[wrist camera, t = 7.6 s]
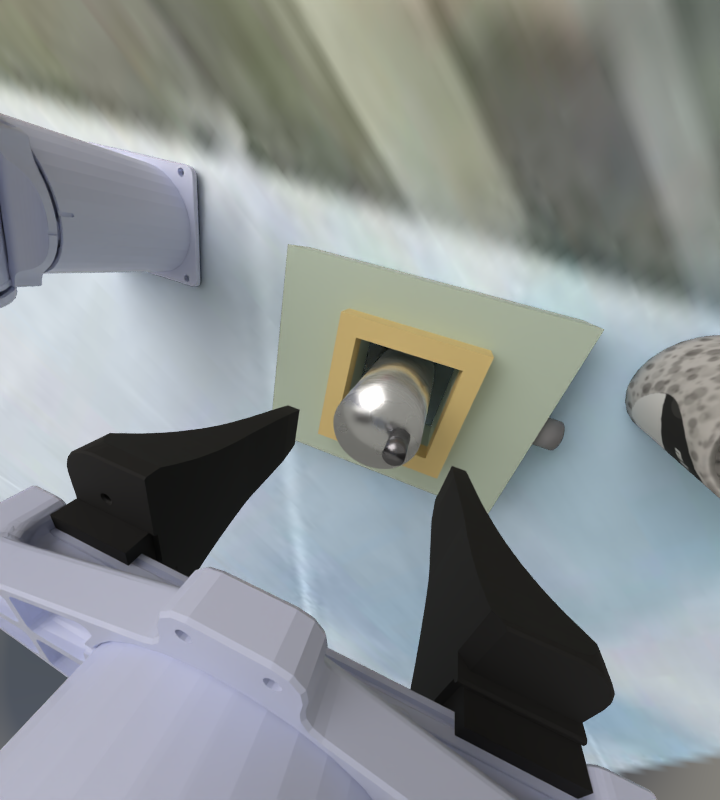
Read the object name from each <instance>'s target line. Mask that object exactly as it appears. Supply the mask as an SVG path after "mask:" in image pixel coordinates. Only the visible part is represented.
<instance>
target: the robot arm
mask: <svg viewBox="0 0 720 800" xmlns="http://www.w3.org/2000/svg"><path fill="white" fill-rule="evenodd" d="M182 171H184V175H183V174H182ZM104 272H148V273H152V274H155V275H158V276H161V277H164V278H168V279H171V280H174V281H177V282H180V283H184V284H187V285H190V286H199V285H200V255H199V227H198V198H197V175H196V172H195V170H194V168H193V167H191V166H188V165H185V164H181V163H176V162H172V161H168V160H164V159H159V158H155V157H151V156H147V155H142V154H138V153H134V152H130V151H125V150H121V149H117V148H113V147H108V146H104V145H100V144H95V143H91V142H88V143H87V142H84V141H82V140H79V139H76V138H73V137H70V136H67V135H64V134H61V133H58V132H55V131H52V130H49V129H46V128H43V127H40V126H37V125H34V124H31V123H28V122H25V121H22V120H19V119H16V118H13V117H10V116H7V115H4V114H1V113H0V308H2V307H4V306H6V305H8V304H10V303H11V302H12V301H13V300H14V299H15V298H16V295H17V287H27V286H41V285H42V275H43V274H45V273H104ZM188 277H189V279H188ZM299 411H300V410H299V409H297V408H294V407H291V406H289V405H287V406H284V407H280V408H277V409H274V410H271V411H268V412H265V413H262V414H259V415H256V416H253V417H249V418H246V419H242V420H239V421H235V422H231V423H228V424H223V425H219V426H214V427H208V428H203V429H195V430H187V431H179V432H167V433H146V434H127V433H109V434H107V435H105V436H103V437H101V438H99V439H97V440H95V441H93V442H91V443H89V444H87V445H85V446H82V447H80V448H78V449H76V450H74V451H72V452H71V453H70V455H69V456H68V459H67V468H68V473H69V476H70V479H71V482H72V485H73V488H74V490H75V493H76V496H77V499H75V500H74V501H72V502H70V503H69V504H67V505H66V503H65V502H64V501H63V500H62V499H61V498H59V497H58V496H56V495H53V494H51V493H49V492H47V491H45V490H43V489H41V488H39V487H37V486H31V487H29V488H27V489H25V490H23V491H21V492H19V493H17V494H15V495H13V496H11V497H9V498H8V499H6V500H4V501H2V502H0V629H2V630H3V631H4V632H6V633H7V634H8V635H10V636H11V637H13V638H14V639H15V640H17V641H18V642H20V643H21V644H23V645H24V646H25V647H27V648H28V649H29V650H31V651H32V652H34V653H35V654H36V655H37V656H39V657H40V658H42V659H43V660H44V661H46V662H47V663H49V664H50V665H51V666H53V667H54V668H55V669H57V670H58V671H59V672H61V673H62V674H64V675H65V676H66V677H68V679H67V680H66V681H65V682H64V683H63V685H62V686H60V688H59V689H58V690H57V691H56V692H55V693H54V694H53V695H52V696H51V697H50V698H49V699H48V700H47V701H46V702H45V703H44V704H43V706H42V707H41V708H40V709H39V710H38V711H37V712H36V713H35V714H34V715H33V716H32V717H31V719H30V720H28V722H27V723H26V724H25V725H24V726H23V727H22V728H21V729H20V730H19V731H18V732H17V733H16V734H15V735H14V736H13V737H12V738H11V740H10V741H9V742H8V743H7V744H6V745H5V746H4V747H3V748H2V749H1V750H0V800H657V799H656V797H655V795H654V794H653V793H652V792H651V791H650V790H648V789H647V788H644V787H642V786H640V785H638V784H636V783H634V782H632V781H630V780H628V779H626V778H624V777H622V776H620V775H618V774H616V773H614V772H612V771H610V770H608V769H606V768H604V767H601V766H598V765H592V764H586V762H585V758H584V754H583V751H582V747H581V745H582V746H585V745H587V737H586V734H585V730H584V726H583V722H584V721H586V720H588V719H589V718H591V717H593V716H595V715H596V714H598V713H600V712H601V711H603V710H604V709H606V708H607V707H608V706H609V705H610V704H611V703H612V701H613V698H614V695H615V693H614V689H613V685H612V682H611V679H610V676H609V674H608V671H607V668H606V666H605V663H604V660H603V658H602V655H601V653H600V650H599V648H598V646H597V644H596V643H595V642H594V641H593V640H592V639H591V638H590V637H589V636H588V635H587V634H586V633H585V632H584V631H583V630H582V629H581V628H580V627H579V626H578V625H577V624H576V623H575V622H574V621H573V620H571V619H570V618H569V617H568V616H567V615H566V614H565V613H564V612H563V611H562V610H561V609H560V607H559V606H558V605H557V604H556V603H555V602H554V601H553V600H552V599H551V598H550V597H549V596H548V595H547V594H546V593H545V591H544V590H543V589H542V588H541V587H540V586H539V585H538V583H537V582H536V581H535V580H534V579H533V578H532V576H531V575H530V574H529V573H528V572H527V570H526V569H525V568H524V567H523V565H522V564H521V563H520V562H519V560H518V559H517V558H516V556H515V555H514V554H513V552H512V551H511V549H510V548H509V547H508V545H507V544H506V542H505V541H504V540H503V538H502V537H501V535H500V534H499V532H498V530H497V529H496V527H495V525H494V524H493V522H492V520H491V519H490V517H489V515H488V514H487V512H486V510H485V508H484V506H483V504H482V502H481V501H480V499H479V497H478V495H477V492H476V490H475V488H474V486H473V484H472V482H471V480H470V478H469V476H468V474H467V472H466V471H465V470H462V469H459V468H457V467H454V466H452V467H451V469H450V471H449V473H448V475H447V477H446V479H445V481H444V483H443V485H442V487H441V489H440V491H439V493H438V495H437V497H436V499H435V504H434V510H433V516H432V524H431V546H430V570H429V582H428V589H427V596H426V603H425V610H424V616H423V622H422V628H421V635H420V640H419V646H418V652H417V657H416V663H415V668H414V674H413V679H412V684H411V689H408V688H406V687H404V686H402V685H400V684H398V683H396V682H394V681H392V680H390V679H388V678H386V677H385V676H383V675H381V674H379V673H377V672H375V671H373V670H371V669H369V668H367V667H365V666H363V665H361V664H359V663H357V662H355V661H353V660H351V659H349V658H347V657H345V656H343V655H341V654H339V653H337V652H335V651H333V650H331V649H329V648H327V639H326V634H325V631H324V629H323V628H322V627H321V626H320V624H319V623H318V622H317V621H316V619H315V618H314V617H312V616H311V615H309V614H308V613H306V612H305V611H303V610H302V609H300V608H299V607H297V606H295V605H292V604H290V603H288V602H286V601H284V600H282V599H280V598H278V597H276V596H274V595H272V594H270V593H268V592H266V591H264V590H262V589H260V588H258V587H256V586H254V585H252V584H250V583H248V582H246V581H244V580H241V579H239V578H237V577H235V576H233V575H231V574H229V573H227V572H225V571H222V570H219V569H216V568H212V567H208V568H203V569H199V568H200V566H201V565H202V563H203V562H204V560H205V559H206V557H207V556H208V554H209V553H210V551H211V550H212V548H213V547H214V545H215V544H216V542H217V541H218V540H219V538H220V537H221V535H222V534H223V532H224V531H225V530H226V528H227V527H228V525H229V524H230V523H231V521H232V520H233V519H234V517H235V516H236V515H237V513H238V512H239V511H240V509H241V508H242V507H243V505H244V504H245V503H246V501H247V500H248V499H249V498H250V497H251V495H252V494H253V493H254V492H255V491H256V490H257V489H258V488H259V487H260V486H261V485H262V483H263V482H264V481H265V480H266V479H267V478H268V477H269V476H270V475H271V474H272V473H273V472H274V470H275V469H276V468H277V467H278V466H279V465H280V464H281V463H282V462H283V460H284V459H285V458H286V456H287V455H288V454H289V452H290V451H291V449H292V448H293V446H294V445H295V439H296V432H297V425H298V418H299Z"/></svg>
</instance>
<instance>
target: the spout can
mask: <svg viewBox="0 0 720 800" xmlns="http://www.w3.org/2000/svg"><path fill="white" fill-rule="evenodd" d="M434 378H435V368H434V364H433V362H432V361H429V360H426V359H423V358H420V357H417V356H414V355H410V354H407V353H404V352H401V351H398V350H394V349H391V348H389V349H388V350H387V351H385V352H384V353H383V354H382V356H381V357H380V358H379V359H378V360H377V361H376V362H375V364H374V365H373V366H372V367H371V368H370V369H369V370H368V372H367V373H366V374H365V375H364V376H363V377H362V378H361V380H360V381H359V382H358V383H357V384H356V385H355V386H354V388H353V389H352V390H351V391H350V392H349V393H348V394H347V395H346V397H345V398H344V399H343V400H342V401H341V402H340V404H339V405H338V407H337V409H336V411H335V414H334V420H333V426H334V432H335V436H336V438H337V441H338V442H339V444H340V446H341V447H342V449H343V450H344V451H345V452H346V453H347V454H348V455H349V456H350V457H351V458H353V459H354V460H356V461H357V462H359V463H361V464H363V465H365V466H368V467H372V468H377V469H391V468H396V467H399V466H401V465H403V464H405V463H407V462H408V461H410V460H411V459H412V458H413V457H414V456H415V454H416V453H417V451H418V449H419V447H420V444H421V440H422V435H423V430H424V426H425V421H426V416H427V411H428V407H429V402H430V397H431V392H432V388H433V383H434Z"/></svg>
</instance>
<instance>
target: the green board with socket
mask: <svg viewBox="0 0 720 800" xmlns="http://www.w3.org/2000/svg"><path fill="white" fill-rule="evenodd" d="M603 331H604V329H602V328H599V327H597V326H595V325H592V324H590V323H588V322H585V321H583V320H580V319H576V318H572V317H569V316H565V315H561V314H557V313H554V312H550V311H546V310H542V309H539V308H535V307H531V306H527V305H524V304H520V303H516V302H513V301H509V300H505V299H501V298H498V297H494V296H490V295H486V294H483V293H479V292H475V291H471V290H468V289H464V288H460V287H456V286H453V285H449V284H445V283H441V282H438V281H434V280H430V279H427V278H423V277H419V276H415V275H412V274H408V273H404V272H400V271H397V270H393V269H389V268H385V267H382V266H378V265H374V264H370V263H367V262H363V261H359V260H356V259H352V258H348V257H344V256H341V255H337V254H333V253H329V252H326V251H322V250H318V249H314V248H311V247H304V246H296V245H289V244H288V249H287V259H286V270H285V281H284V291H283V302H282V313H281V323H280V334H279V345H278V355H277V366H276V377H275V387H274V398H273V409H272V410H274V409H277V408H280V407H284V406H287V405H289V406H291V407H294V408H297V409H299V410H300V411H299V418H298V425H297V432H296V439H295V440H296V441H298V442H301V443H304V444H306V445H309V446H311V447H314V448H316V449H319V450H322V451H324V452H327V453H329V454H332V455H334V456H337V457H339V458H342V459H345V460H347V461H350V462H352V463H355V464H357V465H360V466H363V467H365V468H368V469H370V470H373V471H375V472H378V473H381V474H383V475H386V476H388V477H391V478H393V479H396V480H399V481H401V482H404V483H406V484H409V485H411V486H414V487H417V488H419V489H422V490H424V491H427V492H429V493H432V494H435V495H438V493H439V491H440V489H441V487H442V485H443V483H444V481H445V479H446V477H447V475H448V473H449V471H450V469H451V467H452V466H454V467H457V468H459V469H462V470H465V471H466V472H467V474H468V476H469V478H470V480H471V482H472V484H473V486H474V488H475V490H476V492H477V495H478V497H479V499H480V501H481V502H482V504H483V506H484V508H485V510H486V512H487V514H488V513H489V511H490V510H491V508H492V507H493V505H494V504H495V502H496V500H497V499H498V497H499V496H500V494H501V492H502V491H503V489H504V488H505V486H506V484H507V483H508V481H509V480H510V478H511V477H512V475H513V473H514V472H515V470H516V469H517V467H518V465H519V464H520V462H521V461H522V459H523V458H524V456H525V454H526V453H527V451H528V450H529V448H530V446H531V445H532V444H533V445H536V446H539V447H542V448H545V449H548V450H554V449H555V448H556V447H557V446H558V445H559V444H560V442H561V441H562V438H563V435H564V430H565V428H564V424H563V423H562V422H561V421H558V420H554V419H551V418H549V416H550V415H551V413H552V412H553V410H554V408H555V407H556V405H557V404H558V402H559V400H560V399H561V397H562V396H563V394H564V393H565V391H566V389H567V388H568V386H569V385H570V383H571V381H572V380H573V378H574V377H575V375H576V373H577V372H578V370H579V369H580V367H581V366H582V364H583V362H584V361H585V359H586V358H587V356H588V354H589V353H590V351H591V350H592V348H593V347H594V345H595V343H596V342H597V340H598V339H599V337H600V335H601V334H602V332H603ZM370 342H372V343H375V344H378V345H382V346H385V347H388V348H391V349H394V350H398V351H401V352H404V353H407V354H410V355H414V356H417V357H420V358H423V359H426V360H429V361H433V362H436V363H439V364H442V365H445V366H449V367H452V368H454V371H453V373H452V376H451V378H450V381H449V383H448V385H447V388H446V390H445V393H444V395H443V398H442V400H441V403H440V405H439V407H438V410H437V412H436V415H435V417H434V420H433V422H432V425H431V426H429V425H426V424H425V426H424V430H423V435H422V440H421V444H420V447H419V449H418V451H417V453H416V454H415V456H414V457H413V458H412V459H411V460H410V461H408V462H407V463H405V464H403V465H401V466H399V467H396V468H391V469H377V468H372V467H368V466H365V465H363V464H361V463H359V462H357V461H356V460H354V459H353V458H351V457H350V456H349V455H348V454H347V453H346V452H345V451H344V450H343V449H342V447H341V446H340V444H339V442H338V441H337V438H336V436H335V432H334V426H333V420H334V414H335V411H336V409H337V407H338V405H339V404H340V402H341V401H342V400H343V399H344V398H345V397H346V395H347V394H348V393H349V392H350V391H351V390H352V389H353V388H354V386H355V385H356V384H357V383H358V382H359V381H360V380H361V377H362V373H363V369H364V365H365V361H366V357H367V353H368V349H369V345H370Z"/></svg>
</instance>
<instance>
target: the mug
mask: <svg viewBox="0 0 720 800" xmlns="http://www.w3.org/2000/svg"><path fill="white" fill-rule="evenodd" d="M625 403H626V408H627V412H628V414H629V416H630V417H631V419H632V421H633V422H634V423H635V424H636V425H637V426H639V427H640V428H641V429H642V430H643V431H644V432H645V433H646V434H648V435H649V436H650V437H651V438H652V439H653V440H654V441H655V442H657V443H658V444H659V445H660V446H661V447H662V448H663V449H664V450H666V451H667V452H668V453H669V454H670V455H671V456H672V457H674V458H675V459H676V460H677V461H678V462H679V463H680V464H681V465H683V466H684V467H685V468H686V469H687V470H688V471H689V472H690V473H692V474H693V475H694V476H695V477H696V478H697V479H698V480H700V481H701V482H702V483H703V484H704V485H705V486H706V487H707V488H709V489H710V490H711V491H712V492H713V493H714V494H715V495H717V496H718V497H719V498H720V335H712V336H705V337H698V338H694V339H690V340H687V341H683V342H680V343H678V344H676V345H673V346H671V347H669V348H667V349H665V350H663V351H661V352H660V353H658V354H657V355H655V356H654V357H652V358H651V359H649V360H648V361H647V362H646V363H645V364H644V365H643V366H642V367H641V368H640V369H639V370H638V371H637V372H636V374H635V375H634V376H633V378H632V379H631V381H630V383H629V385H628V388H627V392H626V399H625Z"/></svg>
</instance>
